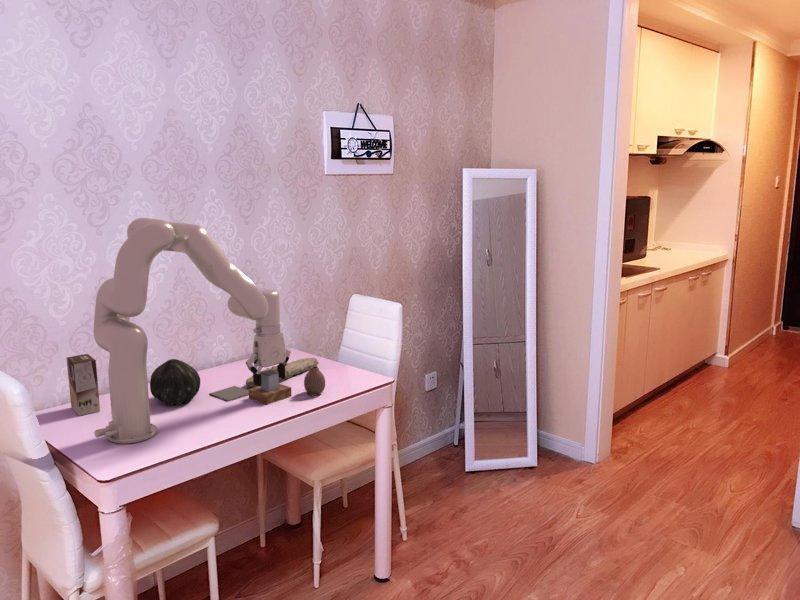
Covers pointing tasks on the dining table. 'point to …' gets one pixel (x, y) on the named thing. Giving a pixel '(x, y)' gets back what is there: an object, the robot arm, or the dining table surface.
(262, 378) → the plug
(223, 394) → the coaster
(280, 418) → the dining table surface
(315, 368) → the vase
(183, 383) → the squash
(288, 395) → the socket block
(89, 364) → the coffee box
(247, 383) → the brown bread loaf
